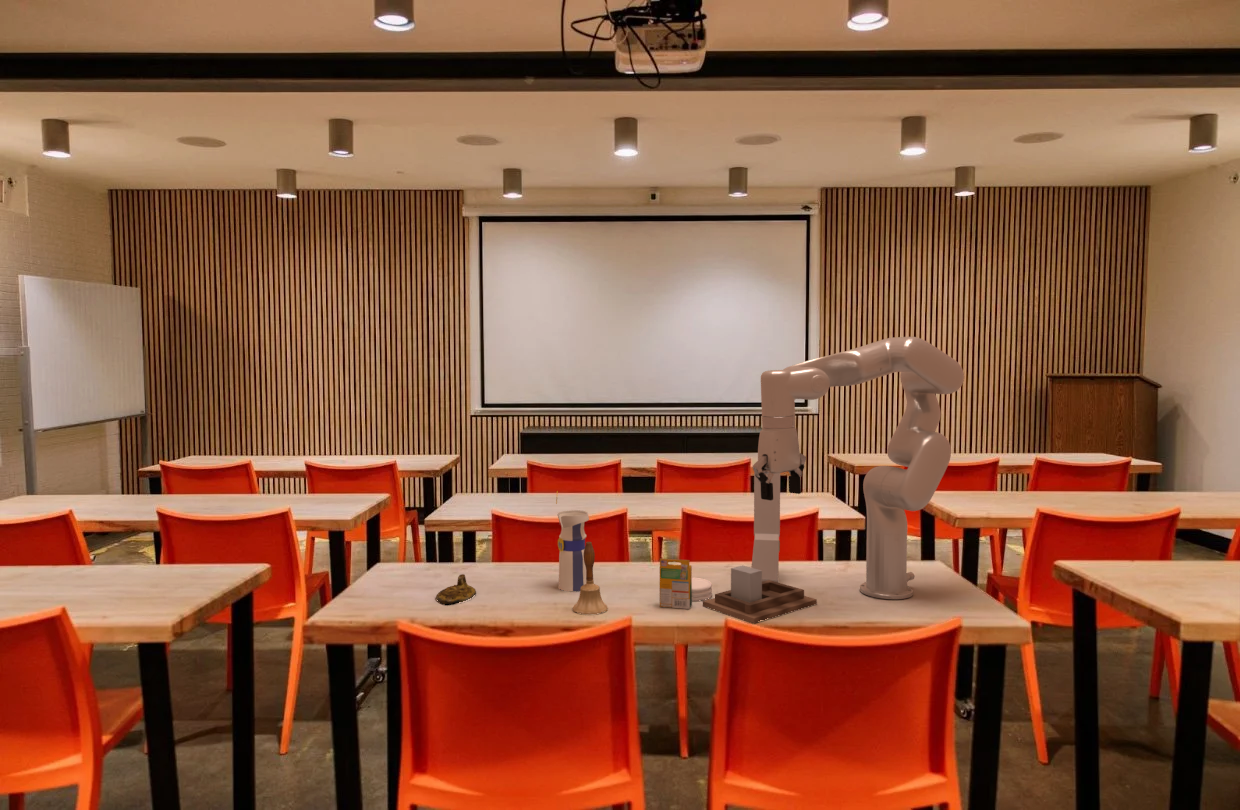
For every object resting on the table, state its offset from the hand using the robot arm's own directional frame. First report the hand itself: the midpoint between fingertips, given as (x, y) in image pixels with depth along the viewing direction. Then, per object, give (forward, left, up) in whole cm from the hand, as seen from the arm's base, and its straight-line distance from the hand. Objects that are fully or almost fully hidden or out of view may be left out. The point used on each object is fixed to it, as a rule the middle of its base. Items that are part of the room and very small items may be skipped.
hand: (781, 496), depth 183 cm
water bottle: (+29, -44, -27) cm, 59 cm away
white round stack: (+10, -20, -27) cm, 35 cm away
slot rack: (+3, -4, -26) cm, 27 cm away
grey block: (+7, -4, -25) cm, 26 cm away
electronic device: (-16, -19, -27) cm, 37 cm away
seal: (+55, -56, -27) cm, 83 cm away
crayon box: (+19, -16, -27) cm, 36 cm away
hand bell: (+36, -27, -27) cm, 52 cm away
